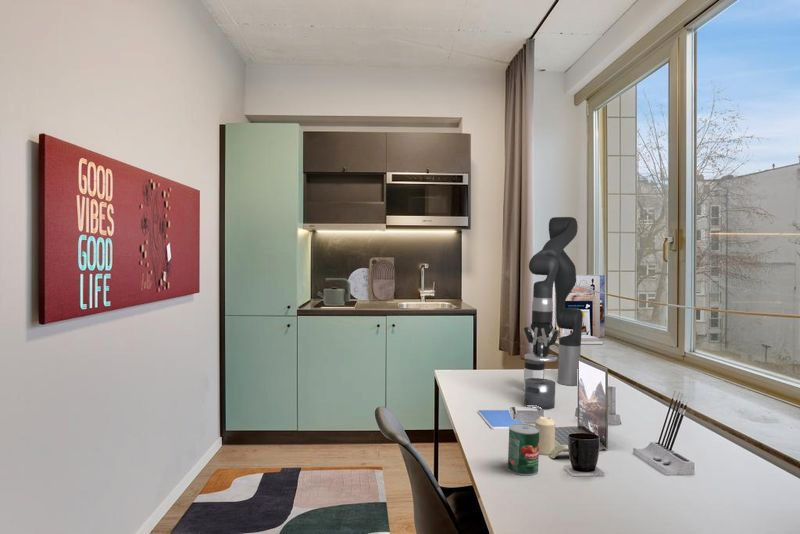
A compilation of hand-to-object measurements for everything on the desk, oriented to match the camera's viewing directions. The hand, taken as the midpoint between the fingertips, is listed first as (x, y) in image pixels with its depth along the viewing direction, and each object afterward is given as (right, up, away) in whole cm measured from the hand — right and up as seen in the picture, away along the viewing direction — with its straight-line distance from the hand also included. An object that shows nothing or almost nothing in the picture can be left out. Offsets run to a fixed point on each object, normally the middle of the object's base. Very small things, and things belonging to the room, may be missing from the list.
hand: (540, 355), depth 202 cm
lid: (0, -1, 0) cm, 1 cm away
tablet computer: (-18, -20, -18) cm, 33 cm away
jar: (+3, -19, +22) cm, 29 cm away
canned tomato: (-21, -20, -60) cm, 67 cm away
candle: (-11, -20, -47) cm, 53 cm away
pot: (0, -19, 0) cm, 19 cm away
